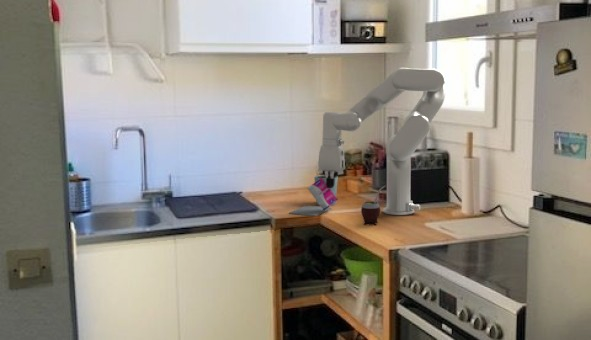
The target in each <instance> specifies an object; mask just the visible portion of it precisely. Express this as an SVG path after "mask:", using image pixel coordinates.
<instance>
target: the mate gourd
mask: <svg viewBox="0 0 591 340" xmlns="http://www.w3.org/2000/svg"><path fill="white" fill-rule="evenodd" d="M385 187H387V184H385V185H384V186H381V187H380V188H379V189H378V190H377V194H376V196H375V199H374V201H365V202H363V203H362V205H361V209H360V211H361V215H362V219H363V226H366V225H367V226H368V225H372V226H377V224H378V223H379V221H378V220H379V216H380V214H381V206H380V205H379V203H378V202H377V200H378V198H379V195H380V193H381V191H382V189H384V188H385Z"/></svg>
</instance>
